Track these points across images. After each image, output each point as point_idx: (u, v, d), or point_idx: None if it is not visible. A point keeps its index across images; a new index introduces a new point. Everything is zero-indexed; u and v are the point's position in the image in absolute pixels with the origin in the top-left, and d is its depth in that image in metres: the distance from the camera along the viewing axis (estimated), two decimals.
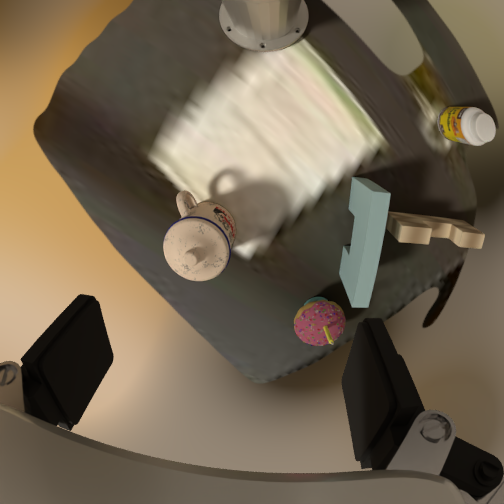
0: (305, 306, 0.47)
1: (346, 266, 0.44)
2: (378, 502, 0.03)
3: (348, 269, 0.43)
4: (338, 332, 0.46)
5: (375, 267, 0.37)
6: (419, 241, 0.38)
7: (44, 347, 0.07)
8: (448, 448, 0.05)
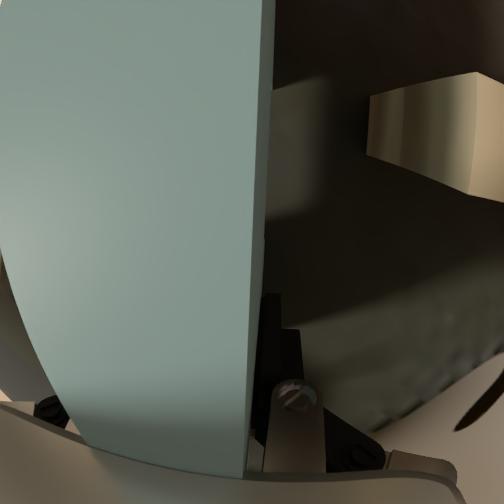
0: None
1: None
2: (378, 502, 0.03)
3: None
4: None
5: (224, 449, 0.03)
6: None
7: None
8: (321, 410, 0.06)
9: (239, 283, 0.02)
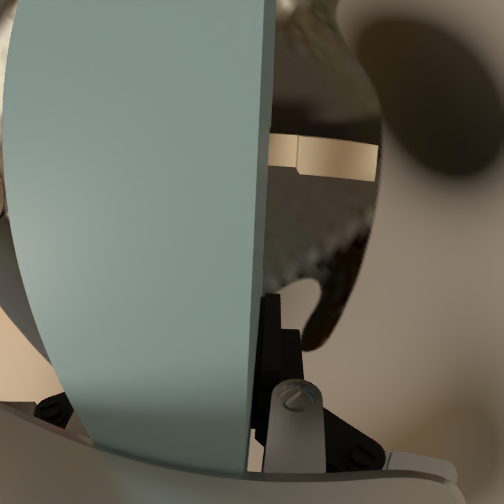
0: None
1: None
2: (378, 502, 0.03)
3: None
4: None
5: None
6: None
7: None
8: (321, 410, 0.06)
9: (239, 387, 0.03)
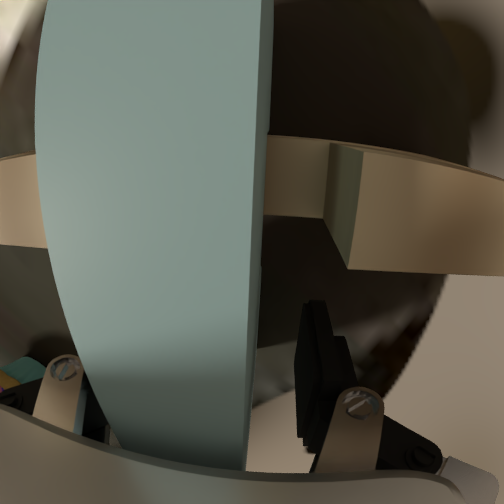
0: None
1: None
2: (378, 502, 0.03)
3: None
4: None
5: (229, 455, 0.04)
6: (32, 235, 0.06)
7: None
8: (380, 421, 0.06)
9: (239, 369, 0.03)
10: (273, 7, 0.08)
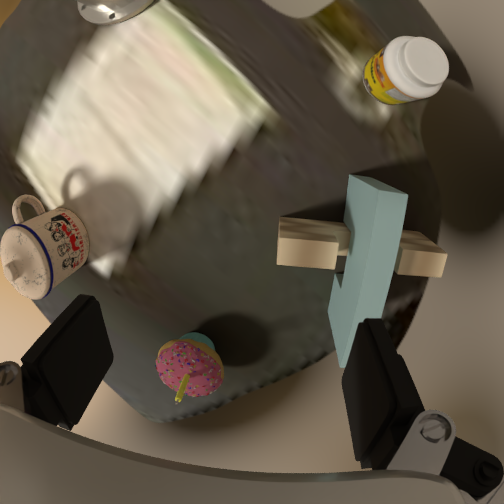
0: (165, 344, 0.34)
1: (336, 304, 0.31)
2: (378, 502, 0.03)
3: (339, 309, 0.29)
4: (209, 384, 0.33)
5: (379, 312, 0.23)
6: (315, 264, 0.26)
7: (45, 348, 0.07)
8: (448, 448, 0.05)
9: (387, 288, 0.23)
10: None
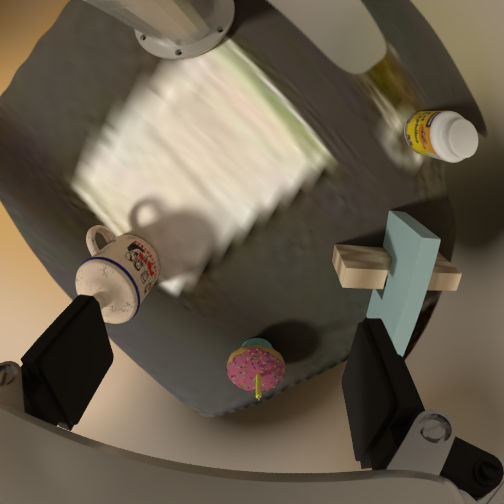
0: (237, 351, 0.41)
1: (377, 311, 0.38)
2: (378, 502, 0.03)
3: (380, 316, 0.37)
4: (275, 380, 0.40)
5: (415, 319, 0.31)
6: (370, 286, 0.33)
7: (44, 347, 0.07)
8: (448, 448, 0.05)
9: (422, 303, 0.30)
10: None
